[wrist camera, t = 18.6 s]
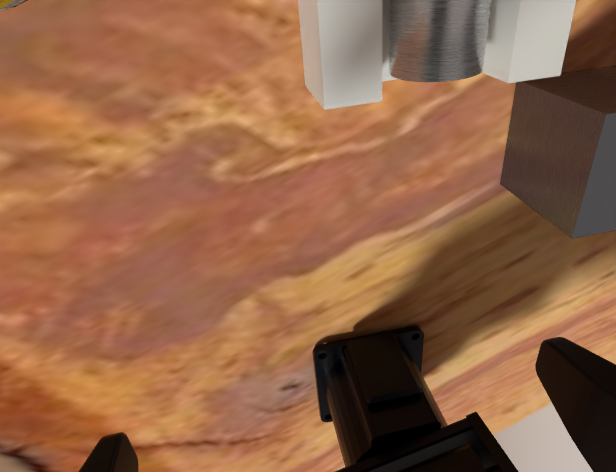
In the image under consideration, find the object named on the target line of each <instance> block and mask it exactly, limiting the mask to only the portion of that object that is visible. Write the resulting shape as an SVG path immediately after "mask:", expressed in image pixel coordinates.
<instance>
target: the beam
mask: <svg viewBox="0 0 616 472" xmlns="http://www.w3.org/2000/svg"><path fill="white" fill-rule="evenodd" d="M500 184H501V185H502V186H504V187H505V188H506V189H507V190H509V191H510V192H511V193H513V194H514V195H515V196H517V197H518V198H519V199H521V200H522V201H523V202H525V203H526V204H527V205H529V206H530V207H531V208H532V209H534V210H535V211H536V212H538V213H539V214H540V215H542V216H543V217H544V218H546V219H547V220H548V221H550V222H551V223H552V224H554V225H555V226H556V227H558V228H559V229H560V230H561V231H563V232H564V233H565V234H567V235H568V236H569V237H571V238H577V237H583V236H588V235H593V234H598V233H604V232H609V231H614V230H616V66H611V67H604V68H597V69H591V70H584V71H577V72H570V73H563V74H561V75H560V76H555V77H548V78H541V79H534V80H527V81H520V82H516V88H515V95H514V101H513V107H512V113H511V120H510V126H509V132H508V138H507V145H506V151H505V157H504V163H503V169H502V176H501V182H500Z"/></svg>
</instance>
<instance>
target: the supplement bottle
mask: <svg viewBox="0 0 616 472" xmlns="http://www.w3.org/2000/svg"><path fill="white" fill-rule="evenodd" d="M25 1H28V0H0V10H4V9H8V8H12V7H16V6H18V5H19V4H21V3H23V2H25Z"/></svg>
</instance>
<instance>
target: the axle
mask: <svg viewBox="0 0 616 472" xmlns="http://www.w3.org/2000/svg"><path fill="white" fill-rule="evenodd" d="M490 5H491V0H390V32H389V74H390V75H391V76H392V77H394V78H397V79H401V80H406V81H414V82H443V81H453V80H460V79H465V78H469V77H473V76H475V75H478V74H480V73H481V72H482V71H483V66H484V58H485V49H486V40H487V32H488V23H489V14H490Z"/></svg>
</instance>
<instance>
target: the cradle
mask: <svg viewBox="0 0 616 472" xmlns="http://www.w3.org/2000/svg"><path fill="white" fill-rule="evenodd" d="M575 4H576V0H491V5H490V14H489V23H488V32H487V40H486V49H485V58H484V66H483V71H482V73H484V74H487V75H489V76H492V77H494V78H496V79H499V80H501V81H504V82H506V83H513V82H520V81H527V80H534V79H541V78H548V77H555V76H560V75H561V70H562V65H563V61H564V56H565V51H566V46H567V42H568V37H569V32H570V27H571V23H572V18H573V13H574V8H575ZM298 9H299V20H300V31H301V43H302V54H303V66H304V77H305V86H306V87H307V88H308V90H309V91H310V92H311V93H312V95H313V96H314V97H315V98H316V100H317V101H318V102H319V103H320V105H321V106H322V107H323V108H324V110H326V109H333V108H340V107H347V106H354V105H361V104H368V103H375V102H381V101H382V81H389V80H396V79H397V78H394V77H392V76H391V75H390V74H389V32H390V0H298Z"/></svg>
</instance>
